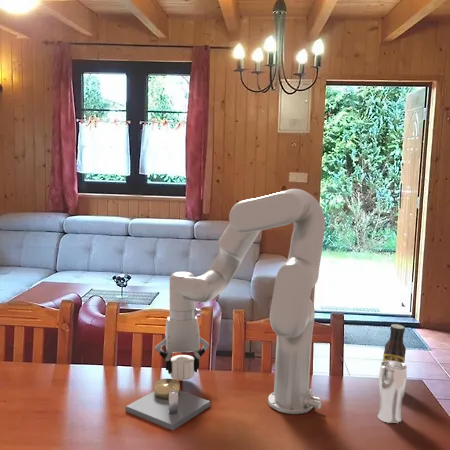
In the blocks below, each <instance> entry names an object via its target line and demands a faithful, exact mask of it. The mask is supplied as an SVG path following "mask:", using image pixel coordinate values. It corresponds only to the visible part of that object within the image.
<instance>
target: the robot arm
mask: <svg viewBox="0 0 450 450" xmlns="http://www.w3.org/2000/svg"><path fill="white" fill-rule="evenodd" d="M228 221H229V223H228V225H227V227H226V228H225V229H224V231H223V232H222V235H221V236H220V237H219V239H218V241H217V244H218V248H219V250H218V254H217V256H216V258H215V259H214V261H213V262H212V264H211V266H210V267H209V269H208V270H207V271H206V272H204V273H203V274H201V275H198V276H195V274H194V273H193V272H189V271H175V272H173V273H171V274H170V276H169V316H168V317H166V320H165V329H164V330H165V333H164V339H162V340H161V341H160V342H159V343H157V344H156V345H155V346H154V349H155V351H156V352H157V353H158V354H159V355H160V356H161V357H162V359H164V361H165V370H166V371H167V373H168V374H169V375H170V373H171V358H172V357H173V354H174V353H176V354H177V353H178V354H179V353H191V352H192V353H193V356H192V357H193V358H194V373H197V372H198V369H199V368H200V359H201V357H202V356H203V355H204V354H205V353H206V351H207V350H208V349H209V348H210V344H209V342H208V341H206V340H205V339H204V338H202V337H201V336H200V327H199V321H198V317H197V315H198V314H201V309H200V308H196V303H202V304H203V303H204V304H205V303H208V302H210V301H212V300H213V299H215V298H216V297H217V296H219V295H220V294H223V292H224V291H225V290H226V289H227V287H228V286H229V284H230V283H231V281H232V280H233V278H234V277H235V275H236V273H237V271H239V268H240V266H241V264H242V262H243V260H244V257H245V256H246V254H247V253H248V251H249V249H251V246H252V245H253V243H254V242H255V240H256V239H257V237H258V236H259V235H260V232H262V231H265V230H269V229H273V228H278V227H283V226H284V227H285V226H288V225H290V224H293V229H292V234H291V237H290V245H289V246H290V247H289V250H288V256H287V260H286V261H285V263H283V265H282V266H281V267H280V268H278V272H276V277H275V280H274V285H273V293H272V299H271V307H270V312H269V321H270V322H269V323H270V326H271V329H272V331H273V332H274V333H275V334H276V347H275V362H274V363H275V366H274V367H275V368H274V383H273V384H274V385H273V388H274V389H273V392H271V393H270V394H269V395H268V397H267V402H268V405H269V406H270V408H272V409H274V410H276V411H278V412H280V413H283V414H289V415H299V414H306V413H308V412H309V411H311V410H312V409H313V408H315V409H319V410H320V409H321V407H322V401H321V398H320V397H318V396H314V395H313V390H312V389H311V388H310V374H311V373H310V372H311V371H310V370H311V369H310V368H311V357H312V356H311V355H312V354H311V353H312V340H313V333H314V331H313V330H314V324H315V306H314V303H313V300H312V299H311V295H312V290H313V288H314V287H315V285H316V284H317V283H318V280H319V274H320V265H321V260H322V252H323V246H324V245H323V244H324V238H325V231H326V229H325V228H326V220H325V214H324V211H323V208H322V205H320V202H319V201H318V200H317V199H316V198H315V197H314V196H313V195H312V194H311V193H309V192H307V191H306V190H303V189H301V188H289V189H287V190H282V191H280V192H276V193H272V194H269V195H264V196H260V197H256V198H248V199H244V200H240V201H238V202H236V203H235V204H234V205H233V206H232V207H231V209H230V211H229V215H228ZM201 345H202V347H200V346H201ZM163 347H165V348H166V349H165V351H166V352H165V351H164V349H162V348H163Z"/></svg>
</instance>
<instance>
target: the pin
mask: <svg viewBox="0 0 450 450" xmlns="http://www.w3.org/2000/svg"><path fill="white" fill-rule="evenodd" d="M177 413H178V391H175V390H172V391H170V392H169V414H171V415H175V414H177Z"/></svg>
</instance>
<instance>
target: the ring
mask: <svg viewBox="0 0 450 450" xmlns="http://www.w3.org/2000/svg"><path fill="white" fill-rule="evenodd" d="M193 357H194V356H192V355H188V354H178V355H174V356H171V358H170V359H171V373H170V374H169V375H170V378H171V379H174V380H177V381H186V380H187V381H188V380H191V379H192V378H194V376H195V371H194V358H193Z"/></svg>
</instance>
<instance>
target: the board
mask: <svg viewBox="0 0 450 450" xmlns="http://www.w3.org/2000/svg"><path fill="white" fill-rule="evenodd" d="M210 407H211V401H210V400H208V399H205V398H203V397H200V396H197V395H193V394H191V393H188V392H186V391H183V390H180V392H179V396H178V413H177V414H175V415H171V414H169V400H162V399H158V398H156V397H155V395H154V391H151V392H150V393H148V394H146V395H144V396H142V397H140V398H138V399H136V400H134V401H133V402H131V403H129V404H128V405H126V406H125V412H126V413H129V414H131V415H134V416H136V417H137V418H142V419H144V420H146V421H148V422H150V423H153V424H155V425H158V426H161V427H163V428H165V429H168V430H171V431H174V430H176V429H177V428H179V427H180V426H182V425H184V424H185V423H187V422H188V421H190V420H191V419H193V418H194V417H196V416H197V415H199V414H201V413H202V412H203V411H205V410H206V409H208V408H210Z"/></svg>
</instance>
